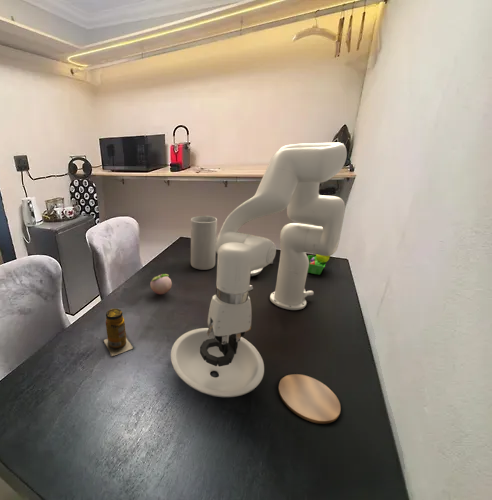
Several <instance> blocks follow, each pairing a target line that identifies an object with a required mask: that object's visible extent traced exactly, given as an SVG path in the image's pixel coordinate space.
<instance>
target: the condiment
mask: <svg viewBox="0 0 492 500" xmlns="http://www.w3.org/2000/svg"><path fill="white" fill-rule="evenodd" d="M123 314H124V313H123V311H122V310H121V309H119V308H111V309H109V310H107V312H105V329H106V336H107V338H105V339H103V342H104V344H105V346H106V349H107V350H108V352H109V353H110V356H111V357H114V356H117V355H121V354H123V353H125V352H127V351H130V350H132V349H134V347H133V345H132V344H131V342H130V341H129V339H128V337H127V331H126V324H125V323H126V321H125V318H124V316H123Z"/></svg>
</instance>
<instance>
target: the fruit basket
mask: <svg viewBox="0 0 492 500" xmlns="http://www.w3.org/2000/svg"><path fill="white" fill-rule="evenodd" d="M307 257H308V260H309V267H308V272H307V274H309V273H310V274H314V275H318V276H320V275H321V274H322V272H323V270H324V268H325V267H326V265H327V263H328V261H329V260H330V257H331V255H330V256H323V255H318V254H315V255H312V254H311V255H309V254H308V255H307Z"/></svg>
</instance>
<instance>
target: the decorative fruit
mask: <svg viewBox="0 0 492 500" xmlns="http://www.w3.org/2000/svg"><path fill="white" fill-rule="evenodd" d="M172 285H173V283H172V279H171V278H170V274H168V273H160V274H158V275H157V276H154V277H153V278H152V279H151V281H150V289H151V290H152V292H154V293H155V294H156V295H164V294H167V293H169V292H170V290H171V289H172Z"/></svg>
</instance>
